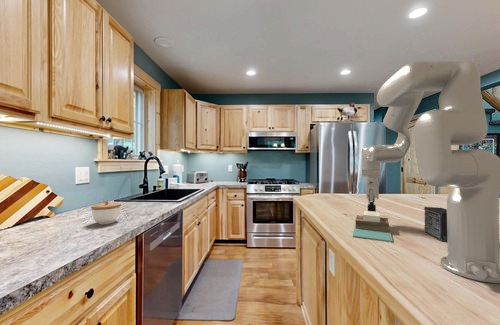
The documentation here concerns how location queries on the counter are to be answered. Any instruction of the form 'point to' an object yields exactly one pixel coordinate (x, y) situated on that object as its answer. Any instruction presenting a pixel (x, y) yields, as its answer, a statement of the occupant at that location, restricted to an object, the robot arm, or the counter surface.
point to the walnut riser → (372, 224)
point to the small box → (436, 222)
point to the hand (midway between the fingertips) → (371, 213)
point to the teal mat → (372, 235)
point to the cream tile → (371, 216)
